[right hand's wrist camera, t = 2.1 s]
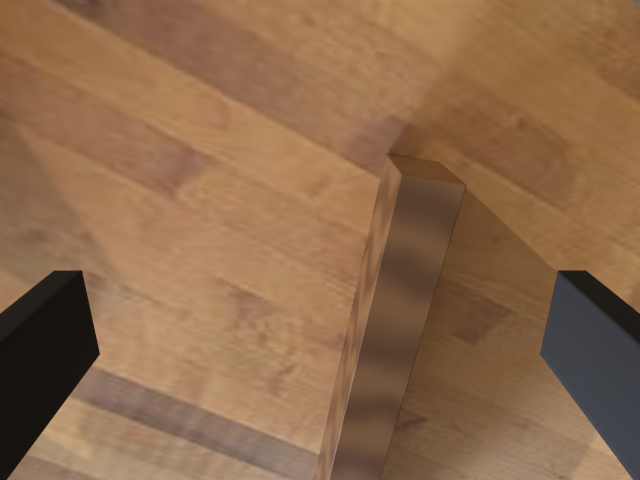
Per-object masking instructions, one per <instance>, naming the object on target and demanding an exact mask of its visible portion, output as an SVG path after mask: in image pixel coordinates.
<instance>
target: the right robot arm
mask: <svg viewBox="0 0 640 480" xmlns="http://www.w3.org/2000/svg"><path fill="white" fill-rule="evenodd" d="M99 355H100V352H99V348H98V343H97V338H96V334H95V329H94V324H93V320H92V315H91V311H90V306H89V301H88V297H87V292H86V287H85V283H84V278H83V273H82V271H53V272H52V273H50V274H49V275H48V276H47V277H45V278H44V279H43V280H42V281H40V282H39V283H38V284H37V285H35V286H34V287H33V288H32V289H31V290H29V291H28V292H27V293H26V294H24V295H23V296H22V297H21V298H19V299H18V300H17V301H16V302H14V303H13V304H12V305H11V306H9V307H8V308H7V309H6V310H4V311H3V312H2V313H1V314H0V480H7V479H8V477H9V476H10V475H11V473H12V472H13V471H14V469H15V468H16V467H17V465H18V464H19V462H20V461H21V460H22V458H23V457H24V456H25V454H26V453H27V452H28V450H29V449H30V448H31V446H32V445H33V444H34V442H35V441H36V440H37V438H38V437H39V436H40V434H41V433H42V431H43V430H44V429H45V427H46V426H47V425H48V423H49V422H50V421H51V419H52V418H53V417H54V415H55V414H56V413H57V411H58V410H59V409H60V407H61V406H62V404H63V403H64V402H65V400H66V399H67V398H68V396H69V395H70V394H71V392H72V391H73V390H74V388H75V387H76V386H77V384H78V383H79V382H80V380H81V379H82V378H83V376H84V375H85V373H86V372H87V371H88V369H89V368H90V367H91V365H92V364H93V363H94V361H95V360H96V359H97V357H98V356H99ZM540 355H541V356H542V357H543V359H544V360H545V361H546V363H547V364H548V365H549V367H550V368H551V369H552V371H553V372H554V373H555V375H556V376H557V378H558V379H559V380H560V382H561V383H562V384H563V386H564V387H565V388H566V390H567V391H568V392H569V394H570V395H571V396H572V398H573V399H574V400H575V402H576V403H577V405H578V406H579V407H580V409H581V410H582V411H583V413H584V414H585V415H586V417H587V418H588V419H589V421H590V422H591V423H592V425H593V426H594V427H595V429H596V430H597V431H598V433H599V434H600V436H601V437H602V438H603V440H604V441H605V442H606V444H607V445H608V446H609V448H610V449H611V450H612V452H613V453H614V454H615V456H616V457H617V458H618V460H619V461H620V462H621V464H622V465H623V467H624V468H625V469H626V471H627V472H628V473H629V475H630V476H631V477H632V479H633V480H640V314H639V313H638V312H637V311H636V310H634V309H633V308H632V307H631V306H629V305H628V304H627V303H626V302H624V301H623V300H622V299H621V298H619V297H618V296H617V295H616V294H614V293H613V292H612V291H611V290H609V289H608V288H607V287H606V286H605V285H603V284H602V283H601V282H600V281H598V280H597V279H596V278H595V277H593V276H592V275H591V274H590V273H588V272H587V271H558V273H557V278H556V283H555V287H554V292H553V297H552V301H551V306H550V311H549V315H548V320H547V324H546V329H545V334H544V338H543V343H542V348H541V352H540Z"/></svg>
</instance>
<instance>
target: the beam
mask: <svg viewBox="0 0 640 480" xmlns="http://www.w3.org/2000/svg"><path fill="white" fill-rule="evenodd" d="M465 188H466V184H464V183H463V182H462V181H461V180H460V179H459V178H457V177H456V176H455V175H454V174H453V173H451V172H450V171H449V170H448V169H447V168H445V167H444V166H443V165H442V164H441V163H439V162H433V161H427V160H421V159H415V158H409V157H403V156H397V155H391V154H386V157H385V162H384V166H383V171H382V175H381V180H380V184H379V189H378V193H377V198H376V202H375V207H374V211H373V216H372V220H371V225H370V229H369V234H368V238H367V243H366V247H365V252H364V256H363V261H362V265H361V270H360V274H359V279H358V283H357V288H356V292H355V297H354V301H353V306H352V310H351V315H350V319H349V324H348V328H347V333H346V337H345V342H344V346H343V351H342V355H341V360H340V364H339V369H338V373H337V378H336V382H335V387H334V391H333V396H332V400H331V405H330V409H329V414H328V418H327V423H326V427H325V432H324V436H323V441H322V445H321V450H320V454H319V459H318V463H317V468H316V472H315V477H314V480H380V477H381V473H382V470H383V466H384V463H385V460H386V456H387V453H388V449H389V446H390V443H391V439H392V436H393V433H394V429H395V426H396V422H397V419H398V416H399V412H400V409H401V405H402V402H403V399H404V395H405V392H406V388H407V385H408V382H409V378H410V375H411V371H412V368H413V365H414V361H415V358H416V355H417V351H418V348H419V344H420V341H421V338H422V334H423V331H424V327H425V324H426V321H427V317H428V314H429V310H430V307H431V304H432V300H433V297H434V294H435V290H436V287H437V283H438V280H439V277H440V273H441V270H442V266H443V263H444V260H445V256H446V253H447V249H448V246H449V243H450V239H451V236H452V232H453V229H454V226H455V222H456V219H457V216H458V212H459V209H460V205H461V202H462V199H463V195H464V192H465Z"/></svg>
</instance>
